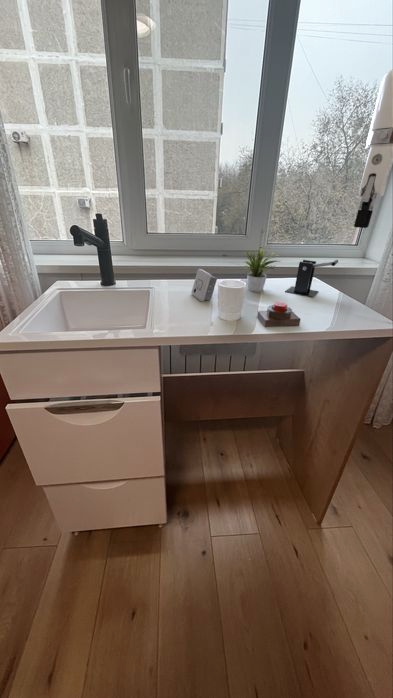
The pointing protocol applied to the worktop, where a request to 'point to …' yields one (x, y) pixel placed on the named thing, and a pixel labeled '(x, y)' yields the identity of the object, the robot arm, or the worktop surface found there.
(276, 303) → the button
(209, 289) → the electrical switch
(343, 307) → the worktop surface
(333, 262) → the grey lever
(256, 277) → the house plant
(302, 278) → the black upright stand
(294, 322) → the button block
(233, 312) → the white cup
